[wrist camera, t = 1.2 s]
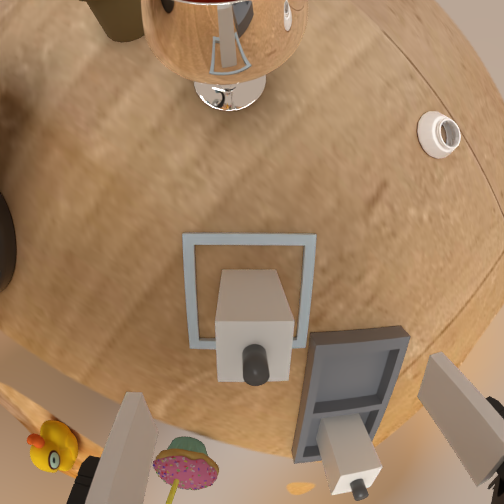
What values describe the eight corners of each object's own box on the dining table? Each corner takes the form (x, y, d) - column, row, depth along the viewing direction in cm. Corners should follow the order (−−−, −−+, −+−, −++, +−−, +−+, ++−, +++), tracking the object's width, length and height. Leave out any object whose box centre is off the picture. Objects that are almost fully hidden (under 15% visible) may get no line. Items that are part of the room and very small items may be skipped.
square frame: (190, 345, 30) (189, 348, 30) (183, 232, 27) (182, 233, 26) (304, 344, 31) (305, 347, 30) (314, 233, 27) (316, 234, 27)
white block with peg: (223, 316, 29) (216, 404, 17) (222, 269, 28) (212, 341, 16) (273, 316, 30) (293, 402, 18) (275, 269, 28) (301, 340, 16)
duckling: (38, 398, 32) (10, 440, 23) (65, 405, 33) (38, 452, 23) (63, 444, 36) (44, 484, 26) (88, 451, 36) (71, 494, 26)
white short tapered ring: (453, 156, 26) (445, 111, 25) (470, 157, 23) (462, 109, 22) (419, 160, 26) (411, 112, 25) (436, 160, 23) (427, 108, 22)
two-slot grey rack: (291, 450, 36) (294, 463, 34) (310, 332, 30) (316, 345, 28) (362, 441, 37) (366, 452, 34) (400, 325, 31) (410, 336, 28)
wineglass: (290, 60, 23) (361, -63, 6) (252, 136, 25) (283, 73, 8) (209, 29, 22) (179, -108, 4) (169, 102, 24) (67, 15, 6)
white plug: (315, 438, 35) (335, 510, 23) (321, 415, 33) (345, 492, 22) (349, 433, 35) (375, 501, 23) (357, 410, 34) (389, 481, 22)
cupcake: (149, 444, 35) (133, 509, 23) (178, 419, 33) (165, 494, 22) (198, 466, 37) (193, 530, 25) (232, 444, 35) (232, 516, 24)
